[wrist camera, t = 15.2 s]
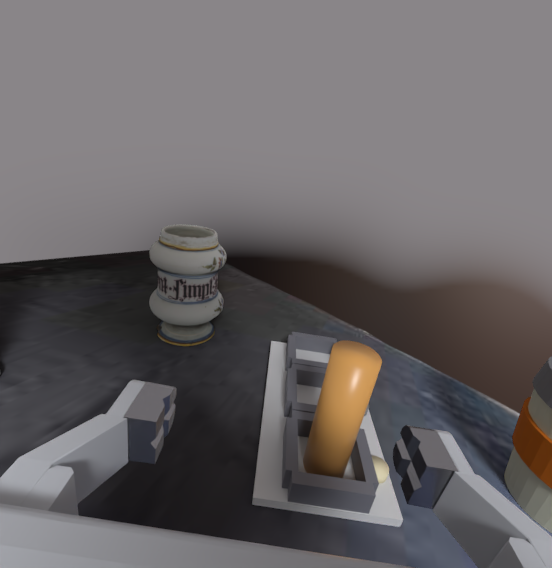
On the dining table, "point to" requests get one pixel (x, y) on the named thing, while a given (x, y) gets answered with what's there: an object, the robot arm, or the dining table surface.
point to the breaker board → (294, 436)
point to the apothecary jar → (187, 283)
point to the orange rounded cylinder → (341, 407)
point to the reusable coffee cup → (534, 452)
